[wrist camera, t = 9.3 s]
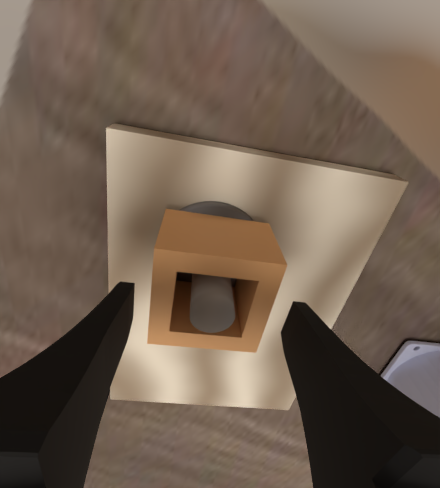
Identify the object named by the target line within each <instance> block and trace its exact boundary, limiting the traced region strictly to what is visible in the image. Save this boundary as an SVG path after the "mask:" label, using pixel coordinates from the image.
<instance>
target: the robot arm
mask: <svg viewBox="0 0 440 488" xmlns="http://www.w3.org/2000/svg"><path fill="white" fill-rule="evenodd" d="M134 290H135V283H130V282H121V281H120V282H119V283H117V285H116V286H115V287H114V288H113V289H112V290H111V292H110V293H109V294H108V295H107V296H106V297H105V298H104V299H103V300H102V301H101V302H100V303H99V304H98V305H97V306H96V307H95V308H94V309H93V310H92V311H91V312H90V313H89V314H88V315H87V316H86V317H85V318H84V319H83V320H81V321H80V322H79V323H78V324H77V325H76V326H75V327H74V328H72V329H71V330H70V331H69V332H68V333H66V334H65V335H64V336H63V337H61V338H60V339H59V340H57V341H56V342H55V343H53V344H52V345H51V346H49V347H48V348H47V349H45V350H44V351H42V352H41V353H39V354H38V355H37V356H35V357H34V358H32V359H31V360H29V361H28V362H26V363H25V364H23V365H21V366H20V367H18V368H16V369H15V370H13V371H11V372H10V373H8V374H6V375H5V376H3V377H1V378H0V488H83V487H84V482H85V478H86V474H87V470H88V466H89V463H90V459H91V455H92V451H93V447H94V443H95V439H96V435H97V431H98V428H99V424H100V420H101V416H102V413H103V409H104V405H105V402H106V398H107V395H108V392H109V389H110V386H111V384H112V381H113V378H114V376H115V373H116V370H117V368H118V365H119V362H120V360H121V357H122V354H123V352H124V349H125V346H126V343H127V341H128V337H129V333H130V329H131V325H132V321H133V313H134ZM281 339H282V345H283V351H284V356H285V359H286V363H287V366H288V370H289V373H290V376H291V380H292V383H293V386H294V390H295V393H296V396H297V400H298V403H299V407H300V411H301V416H302V421H303V426H304V432H305V437H306V443H307V449H308V455H309V461H310V468H311V475H312V482H313V488H440V343H430V342H420V341H407V342H405V343H404V344H403V346H402V347H401V348H400V350H399V351H398V352H397V354H396V355H395V357H394V358H393V359H392V361H391V362H390V363H389V365H388V366H387V367H386V369H385V370H384V372H383V373H382V374H381V376H380V375H378V374H377V373H376V372H375V371H374V370H373V369H371V368H370V367H369V366H368V365H367V364H365V363H364V362H363V361H362V360H361V359H360V358H359V357H358V356H357V355H356V354H355V353H354V352H352V351H351V350H350V349H349V348H348V347H347V346H346V345H345V344H344V343H343V342H342V341H341V340H340V339H339V338H338V337H337V336H336V335H335V333H334V332H333V331H332V330H331V329H330V328H329V327H328V326H327V325H326V324H325V323H324V322H323V321H322V319H321V318H320V317H319V316H318V315H317V314H316V313H315V312H314V311H313V310H312V309H311V308H310V306H309V305H308V304H307V303H305V302H296V301H293V303H292V305H291V308H290V310H289V313H288V315H287V318H286V320H285V323H284V325H283V327H282V330H281Z"/></svg>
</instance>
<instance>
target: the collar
mask: <svg viewBox="0 0 440 488" xmlns="http://www.w3.org/2000/svg"><path fill="white" fill-rule="evenodd" d="M286 268H287V263H286V261H285V258H284V256H283V254H282V252H281V249H280V247H279V245H278V242H277V240H276V238H275V236H274V233H273V231H272V229H271V227H270V224H269V223H262V222H255V221H248V220H241V219H234V218H227V217H221V216H214V215H207V214H200V213H193V212H186V211H179V210H172V209H166V210H165V213H164V217H163V220H162V223H161V227H160V230H159V234H158V237H157V240H156V244H155V247H154V256H153V270H152V283H151V297H150V311H149V324H148V338H147V344H156V345H168V346H180V347H192V348H204V349H216V350H228V351H240V352H253V353H256V352H257V349H258V346H259V343H260V341H261V338H262V335H263V332H264V329H265V327H266V324H267V321H268V318H269V315H270V313H271V310H272V307H273V304H274V301H275V299H276V296H277V293H278V290H279V288H280V285H281V282H282V279H283V276H284V274H285V271H286ZM177 272H185V273H194V274H202V275H211V276H220V277H228V278H237V279H236V283H235V287H232V293H233V301H234V309H235V320H234V322H233V324H232V325H231V326H230V327H229V328H227V329H226V330H223V331H221V332H216V333H207V332H203V331H200V330H198V329H197V328H195V327H194V326H193V325H192V323H191V321H190V302H191V286H192V282H185V281H176V279H177Z"/></svg>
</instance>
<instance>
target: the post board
mask: <svg viewBox="0 0 440 488" xmlns="http://www.w3.org/2000/svg"><path fill="white" fill-rule="evenodd" d="M106 152H107V217H108V282H109V293H110V292H111V290H112V289H113V288H114V287H115V286H116V285H117V283H119V282H120V281H121V282H130V283H135V290H134V313H133V321H132V325H131V329H130V333H129V337H128V341H127V343H126V346H125V349H124V352H123V354H122V357H121V360H120V362H119V365H118V368H117V370H116V373H115V376H114V378H113V381H112V384H111V386H110V399H114V400H131V401H147V402H164V403H181V404H197V405H214V406H231V407H248V408H264V409H281V410H289V408H290V406H291V405H292V403H293V401H294V399H295V397H296V393H295V390H294V386H293V383H292V380H291V376H290V373H289V370H288V366H287V363H286V359H285V356H284V351H283V345H282V339H281V330H282V327H283V325H284V323H285V320H286V318H287V315H288V313H289V310H290V308H291V305H292V303H293V301H296V302H305V303H307V304H308V305H309V306H310V308H311V309H312V310H313V311H314V312H315V313H316V314H317V315H318V316H319V317H320V318H321V319H322V321H323V322H324V323H325V324H326V325H327V326H328V327H329V328H330V329H332V327H333V325H334V323H335V321H336V319H337V317H338V315H339V314H340V312H341V310H342V308H343V306H344V304H345V302H346V300H347V298H348V297H349V295H350V293H351V291H352V289H353V287H354V285H355V283H356V281H357V279H358V278H359V276H360V274H361V272H362V270H363V268H364V266H365V264H366V262H367V261H368V259H369V257H370V255H371V253H372V251H373V249H374V247H375V245H376V243H377V242H378V240H379V238H380V236H381V234H382V232H383V230H384V228H385V226H386V225H387V223H388V221H389V219H390V217H391V215H392V213H393V211H394V209H395V207H396V206H397V204H398V202H399V200H400V198H401V196H402V194H403V192H404V190H405V189H406V187H407V185H408V183H409V182H407V181H406V180H404V179H402V178H400V177H398V176H396V175H394V174H390V173H384V172H379V171H373V170H368V169H362V168H357V167H351V166H346V165H340V164H335V163H329V162H324V161H318V160H313V159H308V158H302V157H297V156H291V155H286V154H280V153H275V152H269V151H264V150H258V149H253V148H247V147H242V146H236V145H231V144H225V143H220V142H214V141H209V140H204V139H198V138H193V137H187V136H182V135H176V134H171V133H165V132H160V131H154V130H149V129H143V128H138V127H132V126H127V125H121V124H116V123H114V124H112V125H110V126H108V127H106ZM166 209H172V210H179V211H186V212H193V213H200V214H207V215H214V216H221V217H227V218H234V219H241V220H248V221H255V222H262V223H269V224H270V227H271V229H272V231H273V233H274V236H275V238H276V240H277V242H278V245H279V247H280V249H281V252H282V254H283V256H284V258H285V261H286V263H287V268H286V271H285V274H284V276H283V279H282V282H281V285H280V288H279V290H278V293H277V296H276V299H275V301H274V304H273V307H272V310H271V313H270V315H269V318H268V321H267V324H266V327H265V329H264V332H263V335H262V338H261V341H260V343H259V346H258V349H257V352H256V353H253V352H240V351H228V350H216V349H204V348H192V347H180V346H168V345H156V344H147V338H148V324H149V311H150V297H151V283H152V270H153V256H154V247H155V244H156V240H157V237H158V234H159V230H160V227H161V223H162V220H163V217H164V213H165V210H166ZM236 279H237V278H228V277H220V276H211V275H202V274H194V273H185V272H177V279H176V281H185V282H192V286H191V302H190V321H191V323H192V325H193V326H194V327H195V328H197V329H198V330H200V331H203V332H207V333H216V332H221V331H223V330H226V329H227V328H229V327H230V326H231V325H232V324H233V322H234V320H235V309H234V301H233V293H232V287H235V283H236Z"/></svg>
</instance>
